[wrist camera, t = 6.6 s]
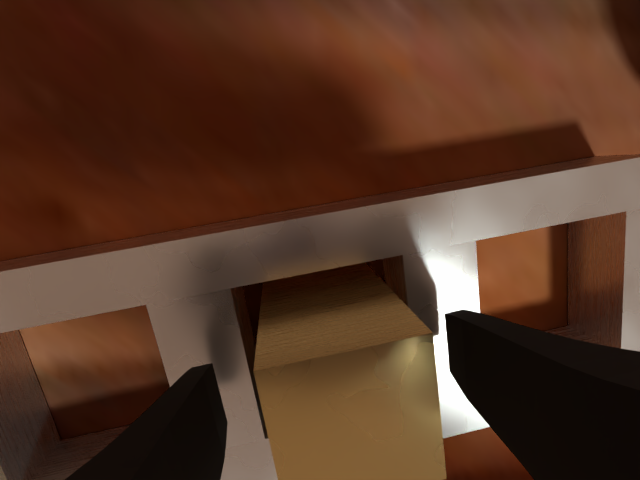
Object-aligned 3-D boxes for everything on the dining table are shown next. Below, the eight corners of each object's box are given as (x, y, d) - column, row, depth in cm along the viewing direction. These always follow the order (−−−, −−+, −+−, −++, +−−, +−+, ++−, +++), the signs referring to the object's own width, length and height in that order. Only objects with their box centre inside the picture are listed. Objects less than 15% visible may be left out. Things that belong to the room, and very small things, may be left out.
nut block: (376, 352, 14) (446, 478, 8) (282, 373, 14) (287, 519, 8) (364, 262, 13) (432, 332, 8) (263, 281, 13) (253, 371, 7)
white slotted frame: (592, 354, 16) (647, 387, 13) (42, 485, 13) (-7, 550, 11) (596, 155, 14) (662, 153, 11) (-48, 269, 11) (-130, 295, 9)
